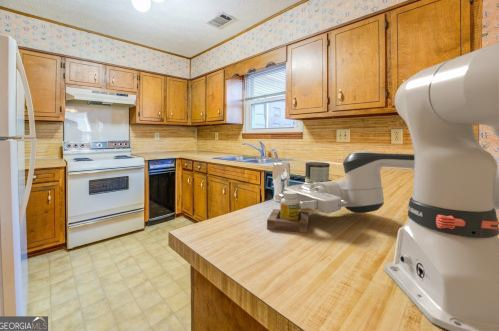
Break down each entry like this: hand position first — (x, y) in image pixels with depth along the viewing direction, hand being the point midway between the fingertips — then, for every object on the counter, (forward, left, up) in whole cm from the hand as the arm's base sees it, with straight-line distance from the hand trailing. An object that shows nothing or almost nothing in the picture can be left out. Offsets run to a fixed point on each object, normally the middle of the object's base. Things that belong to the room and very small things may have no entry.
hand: (289, 201), depth 73 cm
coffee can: (+41, -8, -7) cm, 42 cm away
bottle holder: (0, 0, -7) cm, 7 cm away
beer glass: (+27, +6, -7) cm, 28 cm away
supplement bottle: (0, 0, -7) cm, 7 cm away
